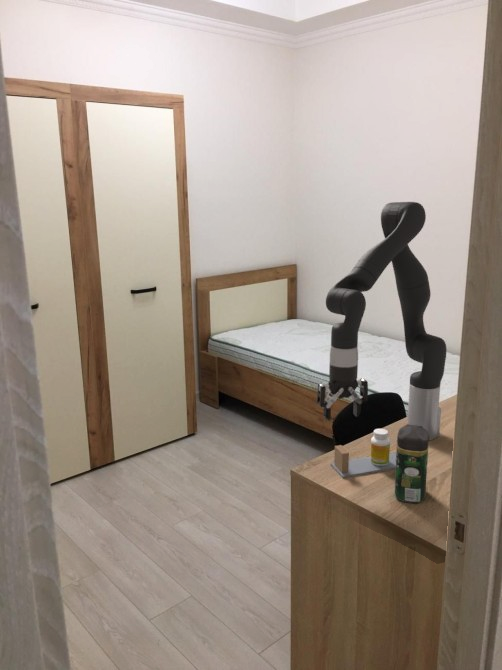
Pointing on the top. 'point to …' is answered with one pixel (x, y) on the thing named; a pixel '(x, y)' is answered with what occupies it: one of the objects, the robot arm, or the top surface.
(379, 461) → the supplement bottle
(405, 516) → the top surface
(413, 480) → the coffee jar
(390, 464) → the strip
